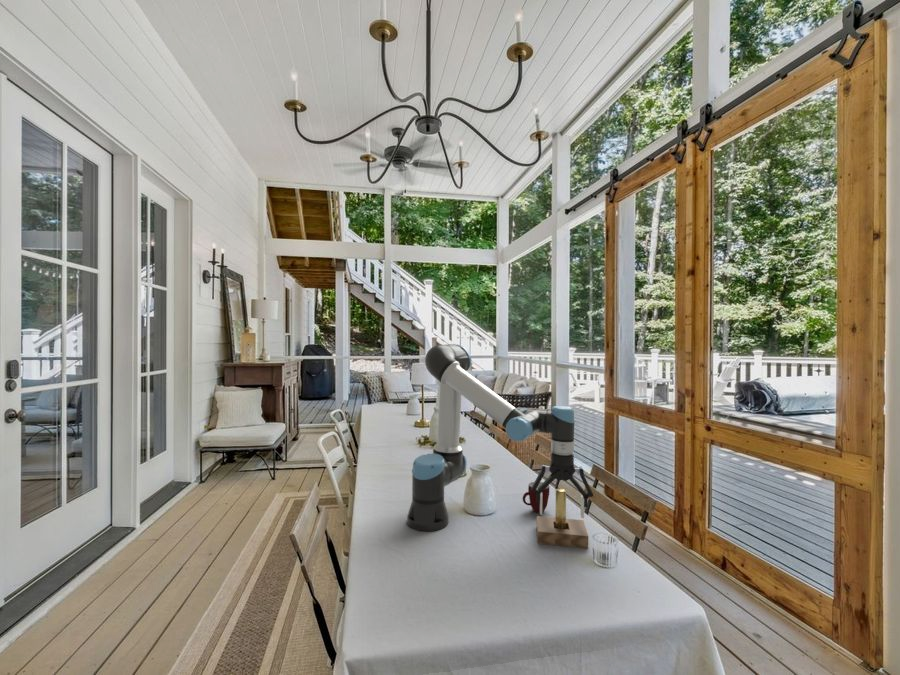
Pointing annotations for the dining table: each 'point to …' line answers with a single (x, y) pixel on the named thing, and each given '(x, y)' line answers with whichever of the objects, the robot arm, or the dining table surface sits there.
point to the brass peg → (560, 509)
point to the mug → (534, 498)
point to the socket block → (562, 533)
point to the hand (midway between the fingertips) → (561, 514)
